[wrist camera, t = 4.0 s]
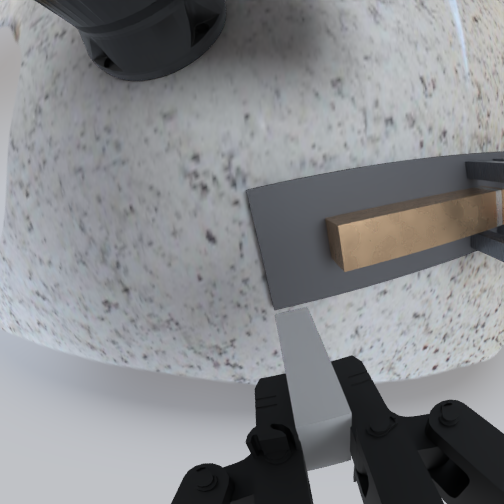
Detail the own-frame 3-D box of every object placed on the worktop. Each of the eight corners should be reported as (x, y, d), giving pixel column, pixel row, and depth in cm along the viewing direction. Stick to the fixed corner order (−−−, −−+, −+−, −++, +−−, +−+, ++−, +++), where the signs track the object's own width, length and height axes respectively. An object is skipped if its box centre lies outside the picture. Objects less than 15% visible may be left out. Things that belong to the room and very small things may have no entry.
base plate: (273, 305, 29) (274, 310, 28) (246, 190, 26) (246, 190, 25) (520, 229, 27) (525, 231, 26) (515, 150, 24) (521, 151, 23)
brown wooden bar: (331, 258, 26) (344, 272, 23) (324, 218, 25) (337, 225, 22) (485, 217, 25) (506, 223, 22) (483, 185, 24) (505, 189, 21)
